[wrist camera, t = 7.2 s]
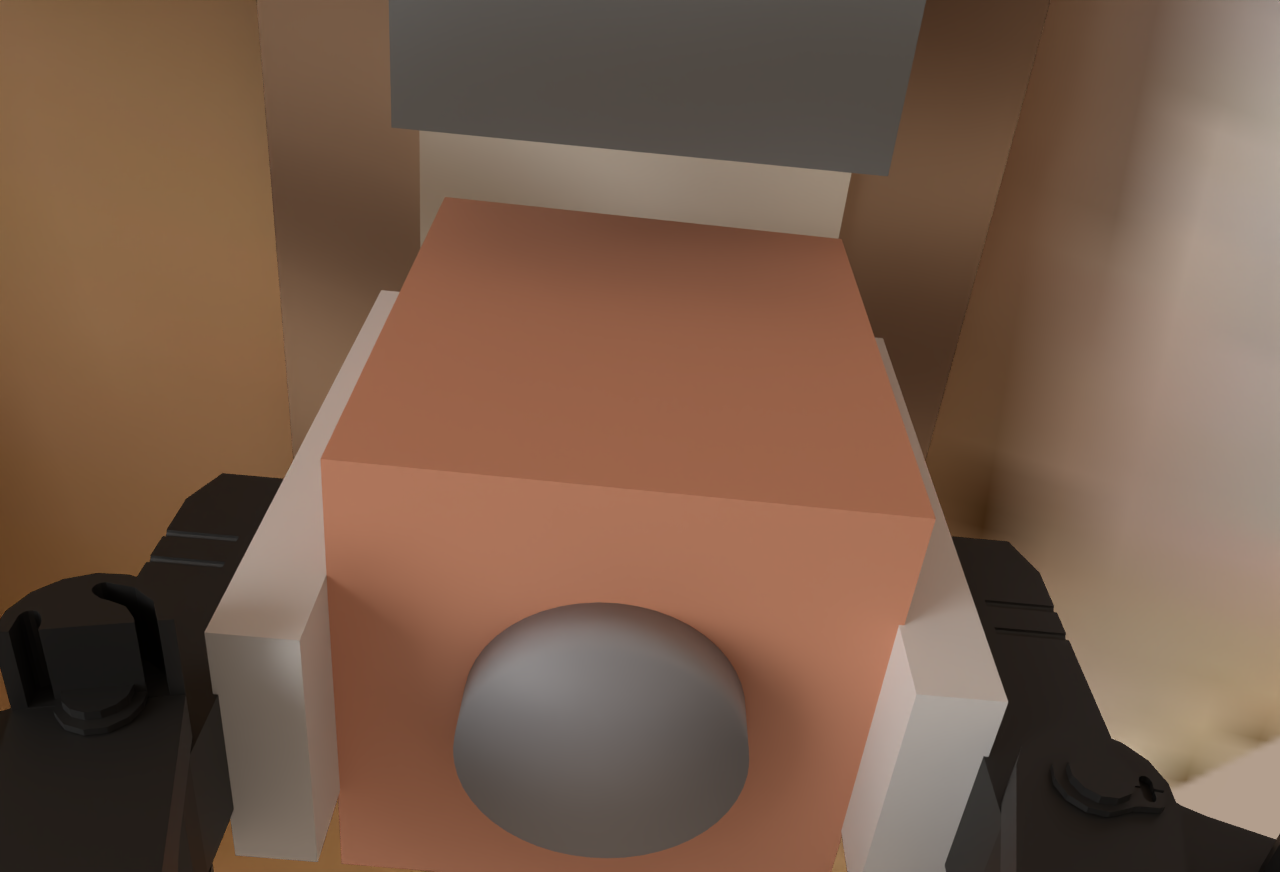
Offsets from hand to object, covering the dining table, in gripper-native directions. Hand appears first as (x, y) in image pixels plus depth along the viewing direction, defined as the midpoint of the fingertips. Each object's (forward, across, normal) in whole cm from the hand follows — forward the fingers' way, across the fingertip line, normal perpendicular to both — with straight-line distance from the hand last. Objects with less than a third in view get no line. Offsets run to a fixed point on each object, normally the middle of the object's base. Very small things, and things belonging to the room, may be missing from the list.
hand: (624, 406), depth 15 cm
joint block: (0, 0, 0) cm, 0 cm away
